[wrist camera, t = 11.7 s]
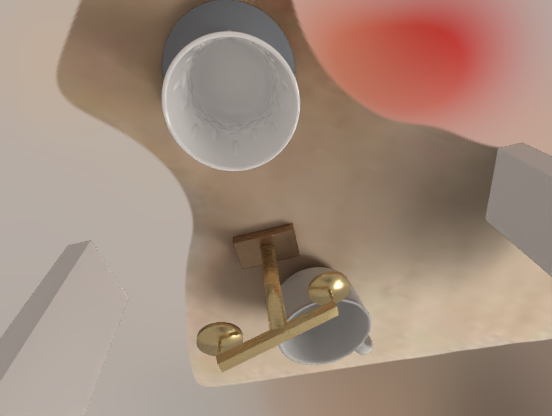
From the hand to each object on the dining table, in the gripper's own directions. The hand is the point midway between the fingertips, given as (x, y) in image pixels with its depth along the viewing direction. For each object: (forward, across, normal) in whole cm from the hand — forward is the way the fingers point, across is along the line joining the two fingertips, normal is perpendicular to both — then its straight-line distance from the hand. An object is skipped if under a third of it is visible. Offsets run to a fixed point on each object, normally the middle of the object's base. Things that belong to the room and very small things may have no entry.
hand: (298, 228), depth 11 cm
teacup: (+22, -2, +27) cm, 35 cm away
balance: (+22, +3, +17) cm, 28 cm away
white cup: (+20, +2, -2) cm, 21 cm away
